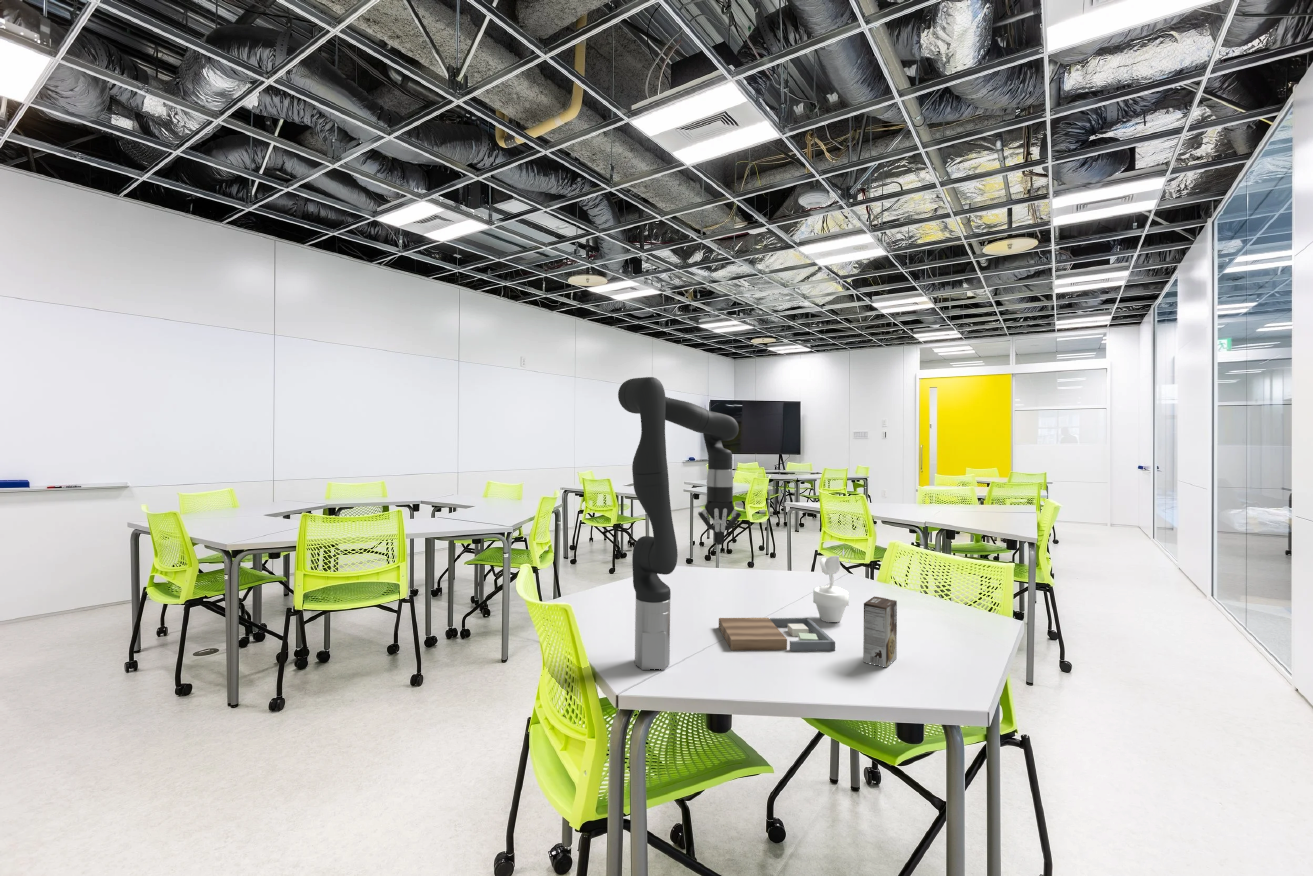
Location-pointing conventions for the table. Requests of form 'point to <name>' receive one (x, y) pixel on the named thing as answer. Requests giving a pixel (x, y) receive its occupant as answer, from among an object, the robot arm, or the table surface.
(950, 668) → the table surface
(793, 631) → the tile cream
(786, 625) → the tray
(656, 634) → the robot arm
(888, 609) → the coffee box
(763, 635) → the board
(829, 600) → the potted plant
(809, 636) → the tile sage
